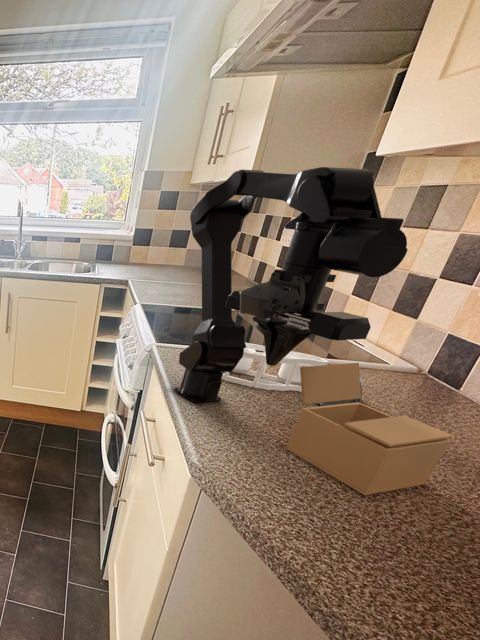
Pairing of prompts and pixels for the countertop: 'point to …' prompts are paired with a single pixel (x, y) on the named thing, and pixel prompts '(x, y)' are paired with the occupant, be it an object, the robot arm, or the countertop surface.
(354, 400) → the grey angular piece
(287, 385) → the skeletal toy car
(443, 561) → the countertop surface
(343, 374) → the flap
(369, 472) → the carton
